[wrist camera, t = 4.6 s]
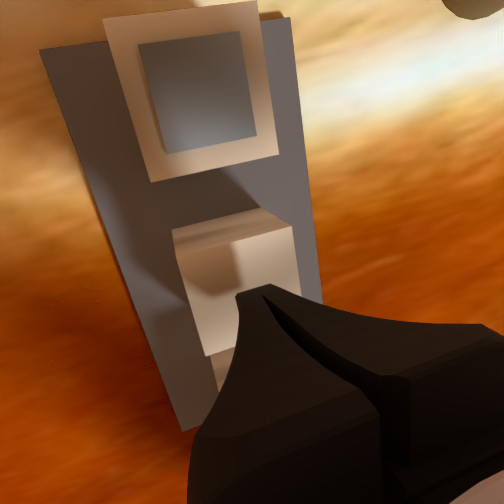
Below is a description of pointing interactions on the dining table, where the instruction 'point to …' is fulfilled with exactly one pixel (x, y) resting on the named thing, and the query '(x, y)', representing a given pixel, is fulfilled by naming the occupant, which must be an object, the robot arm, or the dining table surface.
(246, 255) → the plain block
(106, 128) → the mat
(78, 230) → the dining table surface
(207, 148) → the marked block 1
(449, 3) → the brown game pawn
